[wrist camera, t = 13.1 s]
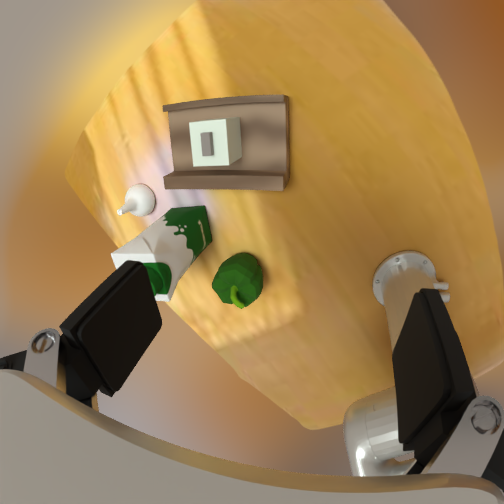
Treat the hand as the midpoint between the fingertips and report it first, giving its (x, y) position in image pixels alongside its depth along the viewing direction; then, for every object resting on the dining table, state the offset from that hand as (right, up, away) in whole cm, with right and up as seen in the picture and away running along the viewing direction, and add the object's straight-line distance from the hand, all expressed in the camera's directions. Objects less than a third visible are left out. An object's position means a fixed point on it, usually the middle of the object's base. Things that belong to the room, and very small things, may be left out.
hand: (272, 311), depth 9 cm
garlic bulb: (-22, +12, +42) cm, 49 cm away
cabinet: (-5, +19, +29) cm, 35 cm away
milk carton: (-12, +7, +42) cm, 45 cm away
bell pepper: (-2, -1, +44) cm, 44 cm away
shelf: (-4, +20, +33) cm, 38 cm away
